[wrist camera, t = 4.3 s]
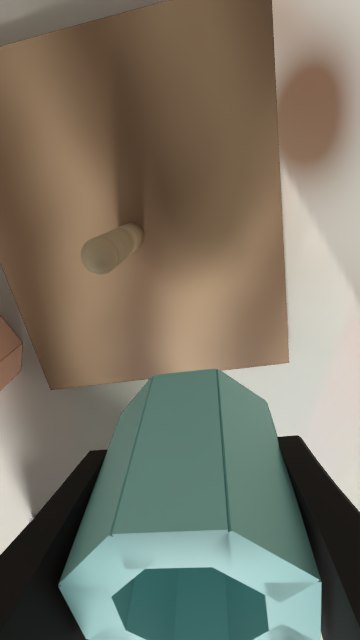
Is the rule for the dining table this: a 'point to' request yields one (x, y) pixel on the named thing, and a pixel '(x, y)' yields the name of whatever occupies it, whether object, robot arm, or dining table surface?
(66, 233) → the brown piece
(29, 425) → the dining table surface
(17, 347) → the terracotta bead
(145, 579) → the teal bead
